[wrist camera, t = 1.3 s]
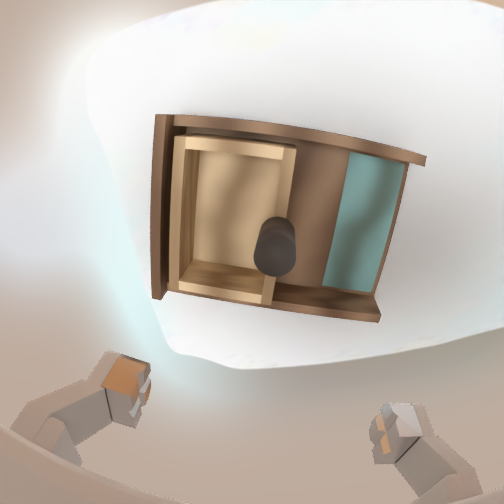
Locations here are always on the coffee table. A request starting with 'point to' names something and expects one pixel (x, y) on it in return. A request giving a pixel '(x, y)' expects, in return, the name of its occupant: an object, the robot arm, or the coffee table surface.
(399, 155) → the bay
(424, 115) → the coffee table surface
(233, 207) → the crate
